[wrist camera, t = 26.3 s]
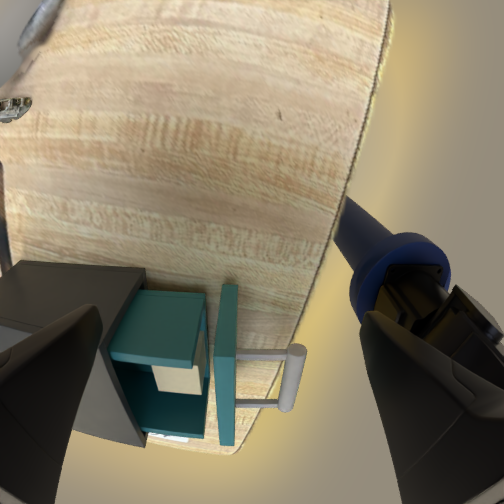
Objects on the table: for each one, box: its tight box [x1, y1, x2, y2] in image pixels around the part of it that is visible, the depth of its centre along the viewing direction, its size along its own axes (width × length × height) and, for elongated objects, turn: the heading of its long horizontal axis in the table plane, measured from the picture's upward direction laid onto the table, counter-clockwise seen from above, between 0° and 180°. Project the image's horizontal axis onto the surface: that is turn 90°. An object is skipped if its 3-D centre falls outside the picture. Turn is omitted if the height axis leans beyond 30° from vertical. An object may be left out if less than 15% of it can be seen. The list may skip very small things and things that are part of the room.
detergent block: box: [151, 331, 206, 395], centre depth 22 cm, size 4×4×4 cm
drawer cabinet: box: [0, 260, 149, 448], centre depth 21 cm, size 15×13×10 cm
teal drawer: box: [106, 284, 307, 446], centre depth 21 cm, size 18×11×8 cm, turn 87°
